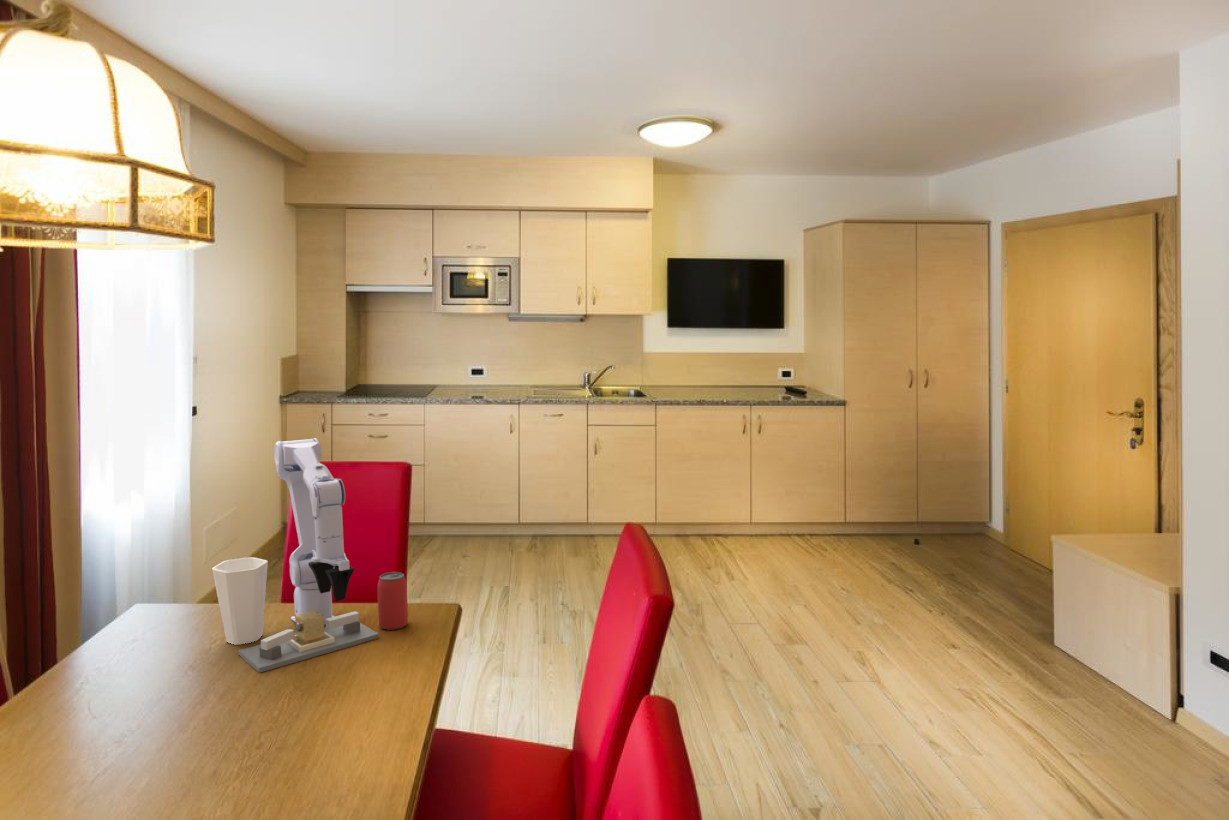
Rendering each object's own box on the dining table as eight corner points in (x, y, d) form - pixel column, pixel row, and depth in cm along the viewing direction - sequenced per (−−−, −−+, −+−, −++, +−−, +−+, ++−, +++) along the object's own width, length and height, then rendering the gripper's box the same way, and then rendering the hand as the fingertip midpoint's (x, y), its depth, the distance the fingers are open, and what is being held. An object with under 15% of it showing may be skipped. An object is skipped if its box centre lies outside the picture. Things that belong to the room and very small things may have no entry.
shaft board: (238, 655, 170) (237, 632, 170) (354, 623, 188) (353, 603, 187) (259, 672, 162) (257, 649, 161) (378, 638, 179) (378, 616, 179)
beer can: (414, 623, 188) (412, 574, 186) (392, 633, 182) (390, 582, 181) (394, 618, 191) (392, 569, 190) (372, 627, 186) (370, 577, 184)
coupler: (293, 642, 174) (292, 615, 174) (318, 635, 178) (317, 609, 178) (301, 648, 171) (300, 621, 171) (327, 641, 175) (326, 614, 174)
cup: (255, 648, 174) (250, 572, 172) (208, 648, 174) (204, 572, 172) (277, 629, 185) (274, 557, 183) (234, 629, 185) (230, 557, 183)
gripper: (297, 533, 178) (301, 592, 179) (325, 544, 167) (328, 608, 168) (328, 527, 182) (331, 585, 184) (357, 538, 172) (360, 600, 173)
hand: (332, 596), depth 176 cm, fingers open, 7 cm apart
